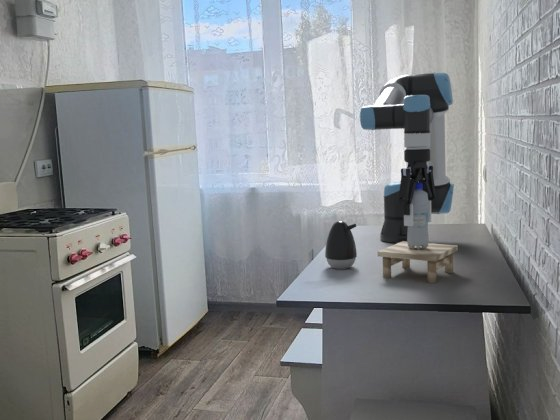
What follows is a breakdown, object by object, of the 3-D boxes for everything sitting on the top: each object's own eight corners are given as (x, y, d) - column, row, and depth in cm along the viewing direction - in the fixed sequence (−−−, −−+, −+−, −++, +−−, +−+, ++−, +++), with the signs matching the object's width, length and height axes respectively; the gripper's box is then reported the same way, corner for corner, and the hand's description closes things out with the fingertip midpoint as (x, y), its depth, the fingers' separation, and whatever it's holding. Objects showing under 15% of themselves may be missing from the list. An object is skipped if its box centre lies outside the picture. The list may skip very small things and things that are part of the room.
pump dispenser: (353, 271, 191) (352, 223, 189) (321, 270, 195) (320, 223, 193) (360, 264, 201) (359, 219, 199) (330, 263, 204) (329, 218, 202)
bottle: (406, 250, 181) (405, 183, 178) (406, 245, 187) (405, 181, 185) (429, 250, 180) (429, 182, 177) (429, 245, 186) (428, 180, 183)
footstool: (402, 265, 197) (402, 241, 196) (457, 271, 186) (457, 245, 185) (378, 277, 182) (377, 251, 181) (436, 284, 172) (435, 256, 171)
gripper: (426, 146, 190) (426, 218, 193) (384, 150, 175) (386, 227, 177) (447, 146, 185) (448, 220, 187) (407, 149, 169) (408, 229, 172)
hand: (417, 223), depth 182 cm, fingers open, 9 cm apart
